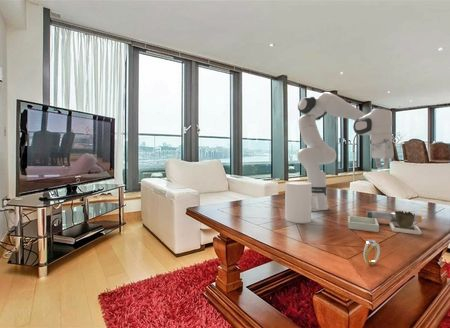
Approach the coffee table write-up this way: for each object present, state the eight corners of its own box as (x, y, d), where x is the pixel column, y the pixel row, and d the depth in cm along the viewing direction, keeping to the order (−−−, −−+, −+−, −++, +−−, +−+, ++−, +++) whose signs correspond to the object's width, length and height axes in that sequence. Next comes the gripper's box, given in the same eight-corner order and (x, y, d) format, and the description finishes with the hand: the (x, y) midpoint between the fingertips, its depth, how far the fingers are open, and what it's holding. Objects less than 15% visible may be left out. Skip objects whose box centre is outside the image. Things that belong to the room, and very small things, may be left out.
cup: (417, 232, 110) (418, 214, 110) (399, 231, 112) (399, 214, 111) (409, 227, 118) (409, 210, 117) (391, 226, 119) (392, 210, 119)
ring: (374, 260, 84) (374, 237, 83) (383, 264, 81) (384, 240, 80) (359, 264, 81) (360, 240, 81) (368, 268, 78) (369, 243, 78)
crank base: (391, 224, 122) (391, 220, 122) (389, 222, 126) (389, 218, 126) (404, 226, 119) (404, 222, 119) (402, 223, 124) (402, 219, 124)
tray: (348, 228, 117) (348, 222, 117) (348, 221, 128) (348, 215, 128) (378, 232, 112) (378, 225, 111) (376, 224, 123) (376, 218, 123)
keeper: (392, 231, 112) (392, 228, 112) (389, 225, 122) (389, 222, 122) (421, 234, 108) (421, 231, 108) (415, 227, 117) (415, 224, 117)
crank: (419, 220, 121) (419, 211, 121) (422, 223, 116) (422, 214, 115) (366, 215, 131) (366, 207, 131) (367, 218, 126) (367, 210, 125)
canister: (283, 216, 141) (283, 181, 140) (307, 216, 140) (307, 181, 139) (287, 223, 127) (288, 184, 126) (314, 223, 127) (314, 184, 125)
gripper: (397, 138, 113) (397, 168, 113) (381, 141, 133) (381, 166, 133) (382, 138, 115) (382, 168, 115) (368, 141, 134) (368, 166, 135)
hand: (382, 167), depth 124 cm, fingers open, 8 cm apart
